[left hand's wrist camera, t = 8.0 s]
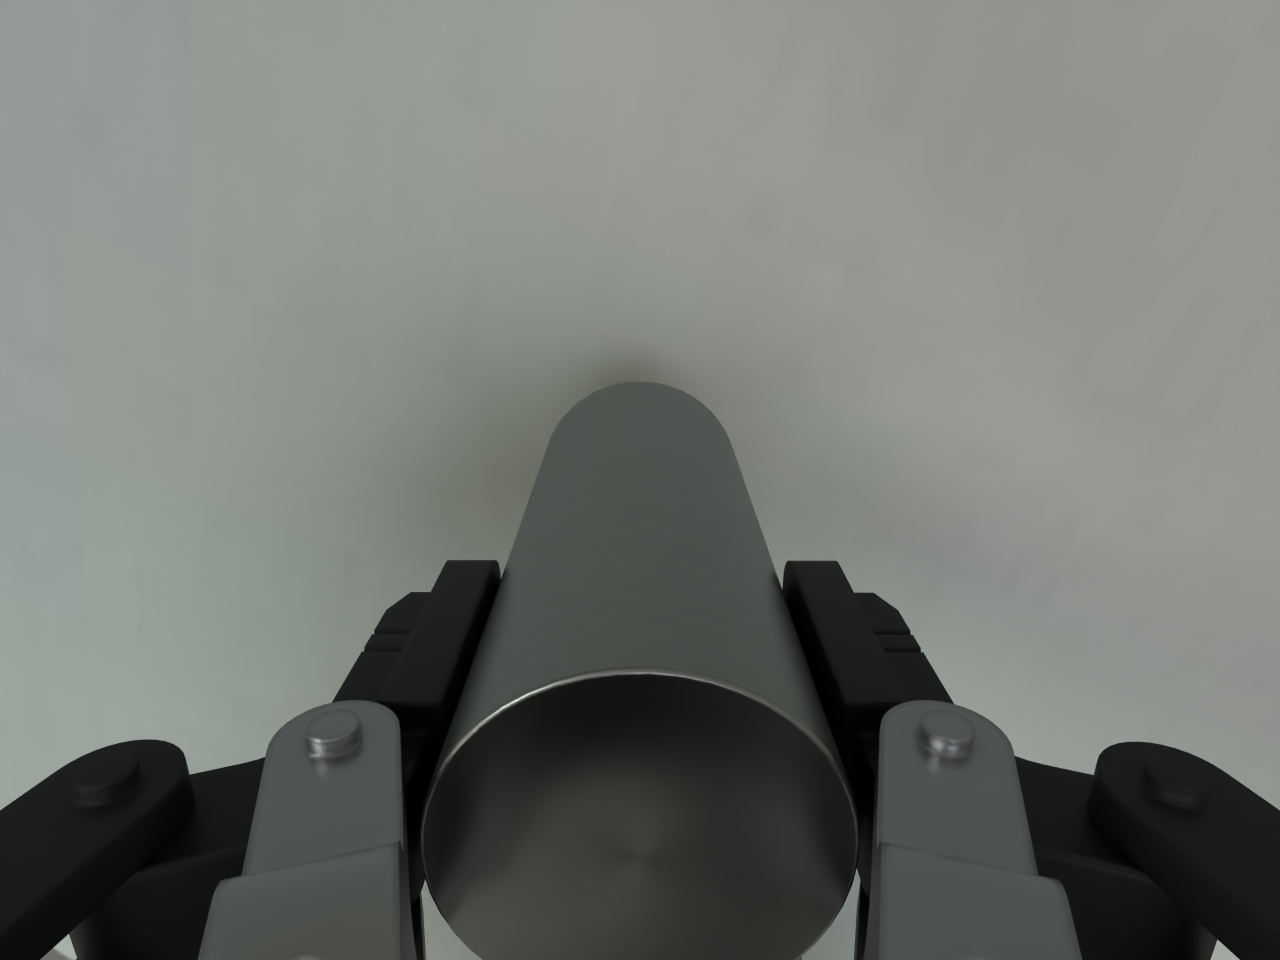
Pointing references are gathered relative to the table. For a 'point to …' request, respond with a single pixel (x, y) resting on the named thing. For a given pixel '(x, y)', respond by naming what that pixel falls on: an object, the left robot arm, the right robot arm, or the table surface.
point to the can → (639, 718)
